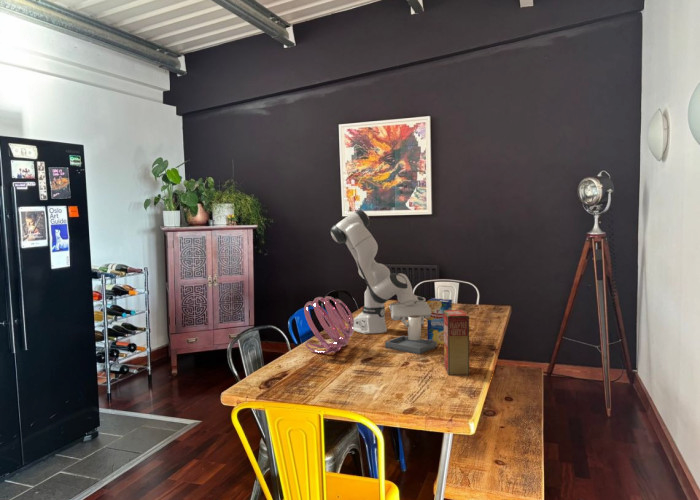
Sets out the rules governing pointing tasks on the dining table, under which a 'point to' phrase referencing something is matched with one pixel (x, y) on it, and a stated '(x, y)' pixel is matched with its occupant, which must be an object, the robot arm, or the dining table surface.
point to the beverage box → (437, 319)
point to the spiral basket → (330, 323)
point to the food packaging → (456, 342)
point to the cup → (414, 328)
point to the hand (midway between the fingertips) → (414, 325)
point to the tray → (410, 345)
